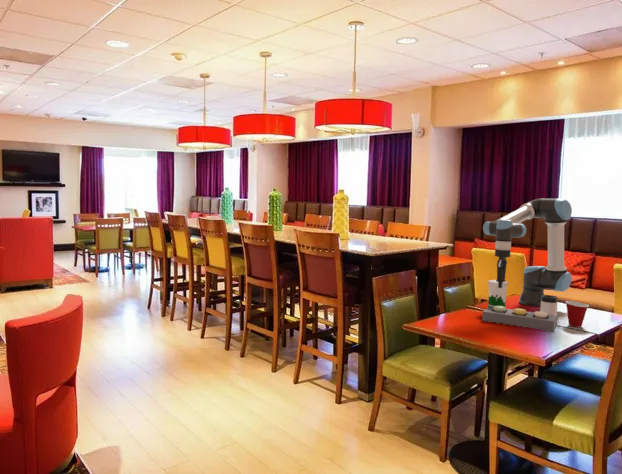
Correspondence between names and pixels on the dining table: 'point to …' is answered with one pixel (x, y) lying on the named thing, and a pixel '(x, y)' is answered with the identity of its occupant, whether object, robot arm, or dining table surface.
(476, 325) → the dining table surface
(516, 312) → the mustard button
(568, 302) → the plastic cup
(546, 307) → the jar
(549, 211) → the robot arm
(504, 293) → the milk carton
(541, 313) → the cream button
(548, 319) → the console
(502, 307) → the sage button
